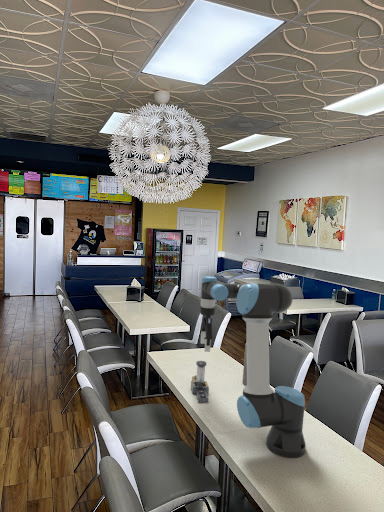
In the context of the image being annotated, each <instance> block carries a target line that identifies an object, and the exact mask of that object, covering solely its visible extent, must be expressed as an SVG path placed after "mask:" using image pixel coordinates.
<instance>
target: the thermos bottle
mask: <svg viewBox="0 0 384 512" xmlns="http://www.w3.org/2000/svg"><path fill="white" fill-rule="evenodd" d="M244 345H245V347H244V357H243V358H244V360H243V368H242V369H243V370H242V371H243V373H242V383H241V384H243V385H244V387H246V386H247V345H246V343H245V344H244Z"/></svg>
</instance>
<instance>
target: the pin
mask: <svg viewBox="0 0 384 512" xmlns="http://www.w3.org/2000/svg"><path fill="white" fill-rule="evenodd" d="M196 365H197V367H196V368H197V369H196V375H197V379H196V386H204V381H205V374H206V366H207V362H206V361H204V360H198V361H197V360H196Z"/></svg>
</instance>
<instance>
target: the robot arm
mask: <svg viewBox="0 0 384 512" xmlns="http://www.w3.org/2000/svg"><path fill="white" fill-rule="evenodd" d="M291 291H292V290H290V289H289V288H288V287H287V286H286V285H283V284H279V283H218V279H217V277H216V276H208V275H207V276H206V275H205V276H203V277H202V280H201V294H200V307H199V309H200V310H199V314H200V315H202V318H201V324H200V344H201V345H203V344H204V352H205V353H210V352H211V343H212V339H213V332H212V331H213V329H212V326H213V325H212V322H213V319H212V318H211V316H214V315H215V314H216V308H215V307H216V303H217V301H224V300H235V302H236V304H235V305H236V308H237V312H238V313H240V314H241V316H242V317H241V318H242V320H244V322H245V325H246V330H245V332H246V337H245V338H246V341H245V342H246V343H245V344H246V345H247V386H244V387H243V389H242V395H240V396H238V398H237V400H236V409H237V412H238V413H237V415H238V416H239V418H240V420H241V422H242V424H243V425H244V426H245V427H246V428H250V429H256V428H257V429H259V428H265V427H270V429H269V432H268V434H267V436H266V442H265V443H266V447H267V449H269V451H271V452H272V453H273V454H276V455H278V456H281V457H285V458H291V459H292V458H299V457H302V456H303V455H304V454H305V453H306V439H305V438H304V433H303V432H304V431H303V428H304V417H305V407H306V400H305V399H306V397H305V395H304V394H303V393H302V392H301V391H299V390H297V388H293V387H291V386H290V387H289V386H285V385H278V386H276V387H275V388H274V389H273V388H272V387H271V386H270V341H269V340H270V337H269V336H270V332H269V329H270V328H269V327H270V325H269V323H271V321H272V319H273V314H280V313H284V312H285V311H288V309H290V307H291V305H292V304H293V294H292V292H291Z"/></svg>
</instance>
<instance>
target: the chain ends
mask: <svg viewBox="0 0 384 512" xmlns="http://www.w3.org/2000/svg"><path fill="white" fill-rule="evenodd" d="M196 379H197V374H196V375H194V376H191V381H190V389H191V393H192V395H195V397H196V399H197V402H198V403H209V399H210V397H209V392H210V387H209V384H208V381H207V380H204V386H196Z"/></svg>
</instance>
